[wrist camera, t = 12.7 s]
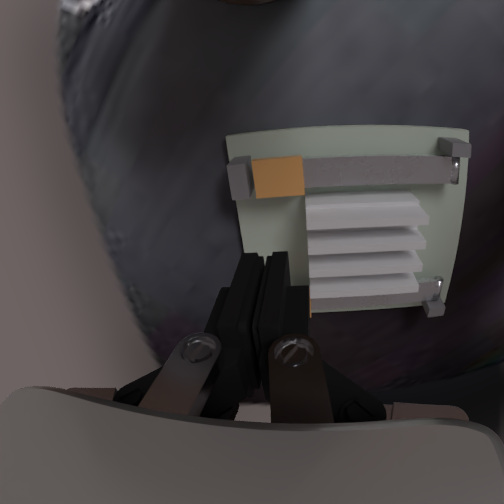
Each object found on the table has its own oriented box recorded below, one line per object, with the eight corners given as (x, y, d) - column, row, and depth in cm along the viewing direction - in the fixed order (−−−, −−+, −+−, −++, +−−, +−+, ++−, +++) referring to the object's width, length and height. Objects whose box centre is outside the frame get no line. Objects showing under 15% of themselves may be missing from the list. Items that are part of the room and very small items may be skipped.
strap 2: (441, 272, 29) (447, 282, 27) (436, 296, 30) (441, 306, 28) (270, 283, 32) (269, 294, 30) (273, 307, 33) (272, 318, 32)
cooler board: (464, 129, 23) (499, 142, 17) (441, 298, 32) (459, 334, 27) (227, 134, 27) (208, 148, 21) (255, 308, 37) (247, 348, 31)
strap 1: (456, 151, 22) (465, 155, 21) (454, 184, 24) (463, 190, 22) (254, 156, 26) (251, 161, 24) (258, 191, 27) (256, 198, 26)
